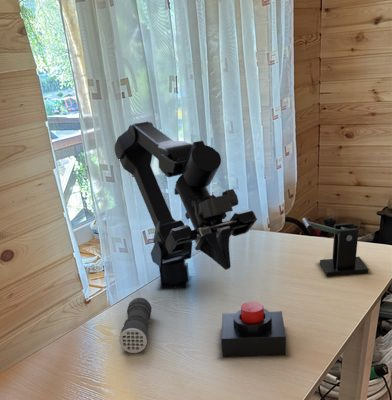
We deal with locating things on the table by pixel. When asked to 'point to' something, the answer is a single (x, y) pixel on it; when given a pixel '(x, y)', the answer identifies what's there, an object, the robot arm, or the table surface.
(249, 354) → the stop box
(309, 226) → the switch lever
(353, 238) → the switch bracket
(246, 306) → the stop button
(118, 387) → the table surface
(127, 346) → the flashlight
